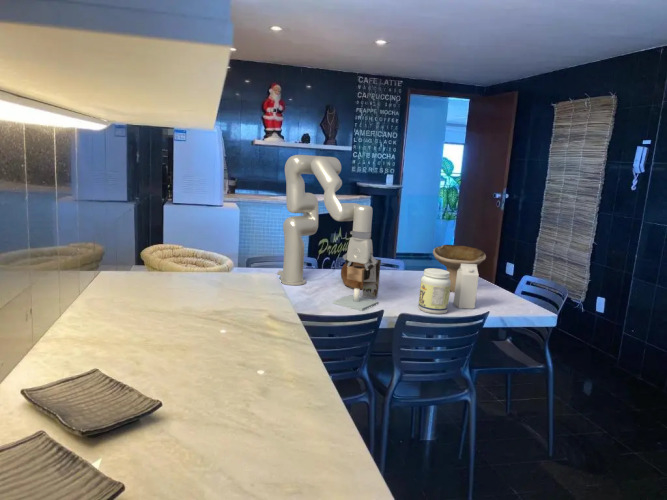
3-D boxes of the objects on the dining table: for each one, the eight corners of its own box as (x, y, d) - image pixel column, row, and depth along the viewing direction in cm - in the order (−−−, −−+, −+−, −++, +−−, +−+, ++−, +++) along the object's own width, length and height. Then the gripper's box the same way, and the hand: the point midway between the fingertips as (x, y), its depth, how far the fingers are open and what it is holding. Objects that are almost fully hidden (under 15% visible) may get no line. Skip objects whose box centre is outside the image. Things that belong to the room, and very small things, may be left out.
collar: (346, 278, 209) (347, 267, 208) (355, 276, 215) (356, 264, 214) (361, 281, 205) (362, 269, 204) (369, 279, 211) (370, 267, 210)
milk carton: (453, 303, 223) (458, 261, 219) (468, 304, 224) (474, 262, 220) (458, 308, 216) (463, 265, 212) (474, 309, 217) (479, 266, 213)
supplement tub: (415, 305, 216) (419, 266, 213) (443, 306, 217) (447, 268, 214) (421, 314, 204) (425, 273, 201) (451, 315, 205) (455, 275, 202)
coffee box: (376, 298, 221) (379, 263, 218) (361, 297, 223) (364, 261, 220) (378, 293, 230) (381, 259, 227) (364, 292, 231) (367, 257, 228)
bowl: (419, 286, 250) (423, 246, 246) (445, 279, 268) (449, 242, 264) (465, 298, 233) (471, 256, 229) (490, 290, 251) (495, 251, 247)
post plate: (333, 303, 210) (334, 288, 209) (350, 296, 222) (351, 282, 220) (361, 311, 203) (363, 295, 201) (378, 303, 214) (379, 289, 213)
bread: (342, 290, 232) (344, 266, 230) (338, 275, 261) (340, 253, 259) (376, 292, 234) (378, 268, 231) (368, 276, 262) (370, 255, 260)
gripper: (338, 233, 208) (336, 275, 211) (375, 239, 199) (372, 282, 202) (348, 231, 214) (345, 272, 217) (384, 237, 205) (381, 279, 208)
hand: (358, 277), depth 210 cm, fingers closed on collar, 7 cm apart
